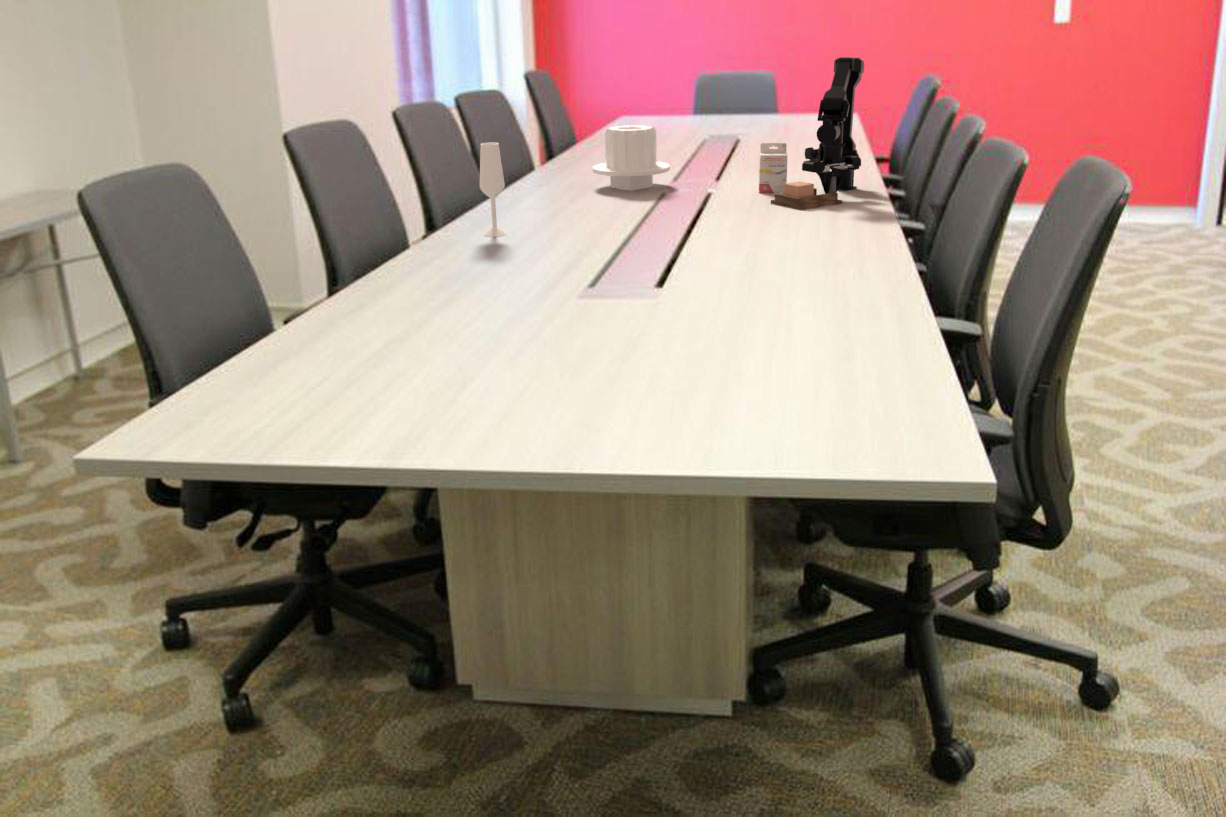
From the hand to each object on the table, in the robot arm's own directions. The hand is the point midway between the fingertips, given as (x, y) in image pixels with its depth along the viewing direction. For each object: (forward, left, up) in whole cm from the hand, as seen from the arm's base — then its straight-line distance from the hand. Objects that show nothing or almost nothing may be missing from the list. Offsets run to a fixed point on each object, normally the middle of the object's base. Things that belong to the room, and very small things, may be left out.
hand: (830, 193), depth 350 cm
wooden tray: (+9, 0, -2) cm, 9 cm away
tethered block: (+7, 0, -2) cm, 7 cm away
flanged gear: (+33, -58, -2) cm, 67 cm away
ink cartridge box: (+4, -22, -2) cm, 22 cm away
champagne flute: (+102, -20, -2) cm, 104 cm away
